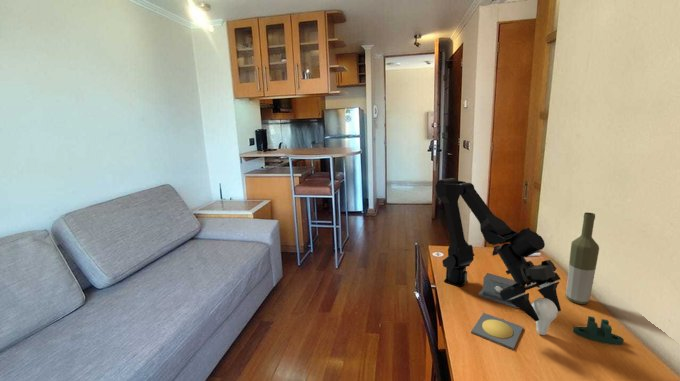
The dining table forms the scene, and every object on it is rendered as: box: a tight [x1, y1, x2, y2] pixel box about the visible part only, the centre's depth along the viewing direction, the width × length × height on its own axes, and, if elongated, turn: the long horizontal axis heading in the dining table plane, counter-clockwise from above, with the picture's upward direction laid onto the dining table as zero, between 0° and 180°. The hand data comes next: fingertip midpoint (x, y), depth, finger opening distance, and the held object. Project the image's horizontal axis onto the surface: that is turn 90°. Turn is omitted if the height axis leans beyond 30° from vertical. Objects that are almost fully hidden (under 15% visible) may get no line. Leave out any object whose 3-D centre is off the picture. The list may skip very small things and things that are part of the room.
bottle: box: [565, 211, 600, 305], centre depth 100 cm, size 7×7×30 cm
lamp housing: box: [478, 272, 519, 309], centre depth 105 cm, size 12×6×7 cm, turn 49°
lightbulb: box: [531, 297, 559, 336], centre depth 87 cm, size 6×6×11 cm
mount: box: [572, 316, 624, 346], centre depth 86 cm, size 11×4×5 cm, turn 62°
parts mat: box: [470, 312, 524, 351], centre depth 90 cm, size 11×11×1 cm
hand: (548, 315), depth 85 cm, fingers open, 9 cm apart
